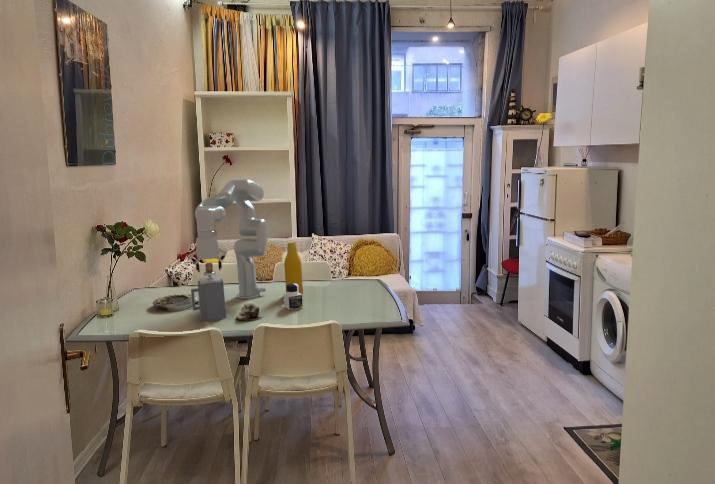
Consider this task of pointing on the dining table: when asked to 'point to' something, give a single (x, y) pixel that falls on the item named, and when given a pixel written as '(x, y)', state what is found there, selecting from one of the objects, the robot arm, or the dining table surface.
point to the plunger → (209, 270)
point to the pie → (174, 302)
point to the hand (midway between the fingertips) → (209, 270)
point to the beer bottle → (293, 267)
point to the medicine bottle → (293, 297)
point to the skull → (249, 312)
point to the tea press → (210, 299)
